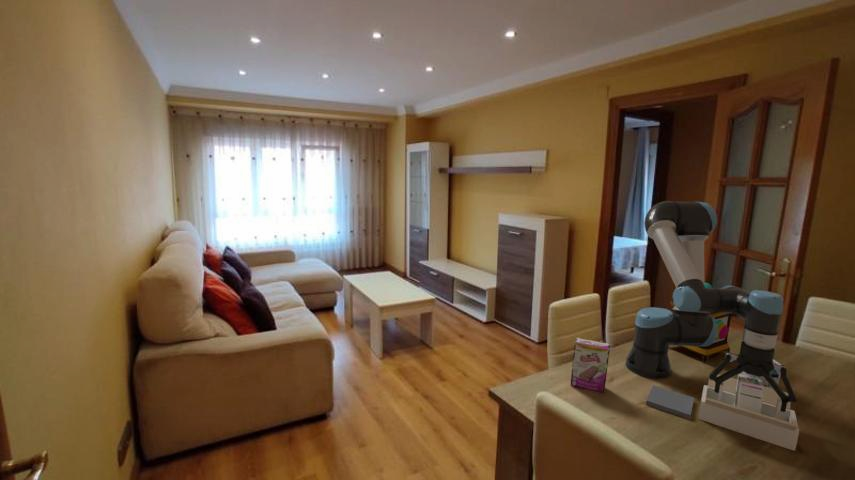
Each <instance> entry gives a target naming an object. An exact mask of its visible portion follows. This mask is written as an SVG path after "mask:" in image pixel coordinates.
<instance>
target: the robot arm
mask: <svg viewBox="0 0 855 480" xmlns="http://www.w3.org/2000/svg"><path fill="white" fill-rule="evenodd" d="M717 223H718V216H717V213H716V211H715V209H714V207H713V206H711V204H709V203H707V202H702V201H697V200H695V201H677V200H676V201H673V200H664V201H660V202H658V203H656V204H654V205H653V206H652V207H651V208H650V209H649V210H648V211H647V212H646V215H645V218H644V229H645V232H646V234H647V236H648V237H649V238H650V239H652V240H653V241H654V244H655V246H656V248H657V250H658V253H659V254H660V257H661V258H662V261H663V263H664V265H665V267H666V269H667V271H668V273H669V276H670V277H671V280H672V282H673V284H674V285H675V289H674V291H673V293H672V300H673V299H674V301H673V302H674V305H675V307H673V313H672V310H669V309H668V308H662V307H645V308H642V309H640V310H638V312H637V314H636V318H635V321H634V323H635V324H634V332H633V341H632V342H633V343H632V346H631V349H630V351H629V352H628V354H627V356H626V358H625V367H627V369H628V370H630V371H631V372H632V373H635V374H637V375H639V376H643V377H646V378H650V379H660V380H662V379H667V378H669V377H670V376H671V371H672V367H671V363H670V358H669V348H670V347H669V346H676V347H679V346H694V347H699V346H709V345H711V344H712V343H713V342H714V341H715V339H716V337H717V334H718V325H717V323H716V320H715V318H714V317H712V316H710V312H717V313H732V314H736V315H738V316H740V317H742V318H743V319H744V318H745V319H744V320H745V321H744V326H743V332H742V337H741V339H742V341H741V344H740V349H739V354H738V355H735V354H732V352H727V353H726V355H725V356H724V359H723V360H721V362H720V363H719V364H718V365H716V367H715V368H714V369H713V370H712V371H710V372H711V373H710V372H709V376H708V380H709V379H710V380H713V381H715V390H714V391H715V392H716V393H719V394H718V400H717V401H720V402H721V396H722V390H723V383H724V381H726V380H728V379H729V378H734V376H738V374H740V373H742V372H743V371H744V372H745V373H746V374H751V375H755V376H758V377H760V376H764V378H765V379H766V380H767V381H768V382H769V384H770V385H771V386H772V388H773V389H774V390H775V392H776V393H777V394H778V396H779V397H778V398H777V404H776V409H775V414H774V418H776V419H779V415H780V411H781V412H785V411H786V406H787V403H788V402H791V403H795V404H796V403H797V397H796V394H795V392H794V390H793V387H792V385H791V383H790V380H789V378H788V376H787V373H788V372H787V367H786V365H784V364H781V366H777V365H773V359H774V357H775V351H776V349H775V348H776V346H777V340H778V334H779V329H780V325H781V320H782V315H783V312H784V298H783V296H782V295H780V294H779V293H776V292H771V291H767V290H760V289H759V290H758V289H757V290H751V291H748V290H745V289H744V288H741V287H739V286H735V285H725V286H722V287H721V288H718V287H717V288H716V287H713V288H706V287H705V285H704V283H705V242H706V241H707V239H708V238H710V233H712V232H713V231H714V230H716V226H717ZM734 361H736V362H737V364H736V366H734V367H733V368H731V369H729V370H727V371H725V372H723V373H722V371H723V370H725V368H726V367H728V365H729V364H730V363H733V362H734ZM772 370H776V371H777V373H778V374H781V376H780V379H781V380H782V383H783V385H784V387H785V390H786V392H787V393H788V395H785V393H784V392H785V391H784V390H783V389H782V388H781V387H780V384H779V385H778V384H777V383H776V381H775V380H774V379H773V378H772V376H771V374H770V373H769V372H771V371H772ZM720 373H722V374H720ZM718 374H720V376H718V377H717V375H718Z"/></svg>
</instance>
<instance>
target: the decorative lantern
mask: <svg viewBox="0 0 855 480" xmlns="http://www.w3.org/2000/svg"><path fill="white" fill-rule="evenodd" d="M704 285H705V287H706V288H714V287H713V286H712V285H711V284H710V283H708V282H704ZM673 301H674V299H673V298H672V300H670V305H671V308H672V310H671V312H672V313H673V307H675V305H674V302H673ZM732 314H733V313H717V312H710V316H712V317H714V318H715V320H716V323H717V325H718V334H717V337H716V339H715V341H714V342H713V343H712V344H711V345H709V346H699V347H694V346H678V347H680V348H682V349H685V350H687V351H689V352H691V353H695V354H697V355H699V356H701V357H702V362H703V364H706V363H707V362H708V359H709V357H711V356H714V355H717V354H720V353H723V354H724V355H725V356H726V353H727V352H730V350H731V348H730V347H731V346H730V345H729V342H728V338H729V337H728V336H729V331H730V324H731V319H732ZM730 353H731V352H730Z"/></svg>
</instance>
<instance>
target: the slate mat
mask: <svg viewBox="0 0 855 480" xmlns="http://www.w3.org/2000/svg"><path fill="white" fill-rule="evenodd" d="M694 401H695V397H694V396H690V395H687V394H684V393H679V392H677V391H673V390H671V389H667V388H663V387H661V386H657V385H654V384H652V386H651V388H650V391H649V394H648V396H647V398H646V402H645V405H646V406H648V407H652V408H655V409H658V410H661V411H664V412H667V413H669V414H672V415H676V416H678V417H682V418H685V419H688V420H691V416H692V410H693V407H694Z"/></svg>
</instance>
